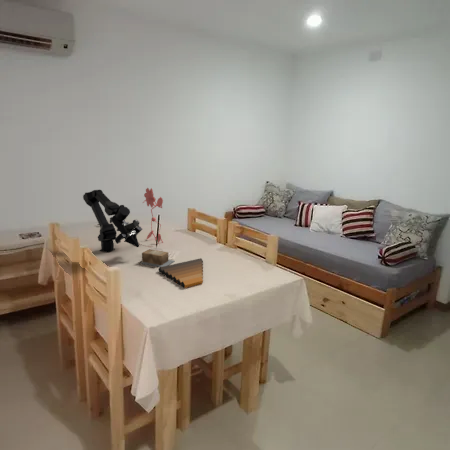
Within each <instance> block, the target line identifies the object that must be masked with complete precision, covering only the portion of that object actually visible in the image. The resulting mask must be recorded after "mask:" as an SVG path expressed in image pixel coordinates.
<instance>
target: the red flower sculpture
mask: <svg viewBox="0 0 450 450" xmlns="http://www.w3.org/2000/svg"><path fill="white" fill-rule="evenodd" d="M143 197H144V198H145V200H144V201H143V202H142V204H144V203H145V202H146V206H147V207H150V208H151V209H150V213H151V216H152V217H151V222H150V225H151V227H150V228H151V230H150V232H149V233H148V235H147V237H146V240H148V239H149V238H151V237H152V236H153V238H154V240H155V241H154V242H156V240H157V235H156V236H155V233H154V230H153V223H152V222H154V223H157V224H158V223H159V222H158V221H156V220H157V218H156V217H154V214H153V210H154V209H155V208H156V207H158V208H161V209H163V203H164V200H163V198H162V197H161V196H159V198H157V201H156V198H155V196H154V190H153V188H152V187H151V188H150V189H149V187H147V188H145V193H144V196H143ZM161 226H162V225H161V224H160V223H159V230H158V233H157V234H158V244H159V243H160V242H161V243H164V241H163V239H162V235H161V234H160V230H161ZM139 246H144V247H145V245H144V244H141V243H139ZM148 247H150V248H151V247H152V248H153V247H154V246H153V245H151V246H150V245H148Z"/></svg>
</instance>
